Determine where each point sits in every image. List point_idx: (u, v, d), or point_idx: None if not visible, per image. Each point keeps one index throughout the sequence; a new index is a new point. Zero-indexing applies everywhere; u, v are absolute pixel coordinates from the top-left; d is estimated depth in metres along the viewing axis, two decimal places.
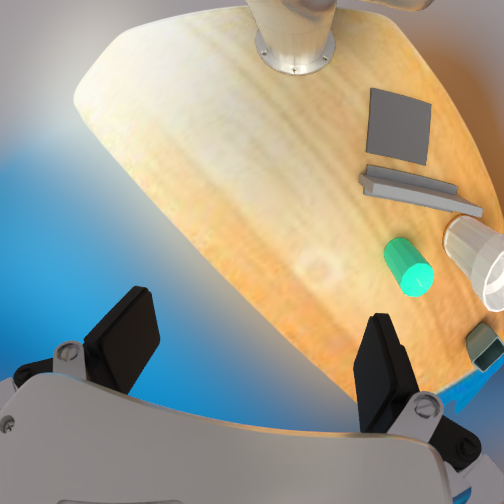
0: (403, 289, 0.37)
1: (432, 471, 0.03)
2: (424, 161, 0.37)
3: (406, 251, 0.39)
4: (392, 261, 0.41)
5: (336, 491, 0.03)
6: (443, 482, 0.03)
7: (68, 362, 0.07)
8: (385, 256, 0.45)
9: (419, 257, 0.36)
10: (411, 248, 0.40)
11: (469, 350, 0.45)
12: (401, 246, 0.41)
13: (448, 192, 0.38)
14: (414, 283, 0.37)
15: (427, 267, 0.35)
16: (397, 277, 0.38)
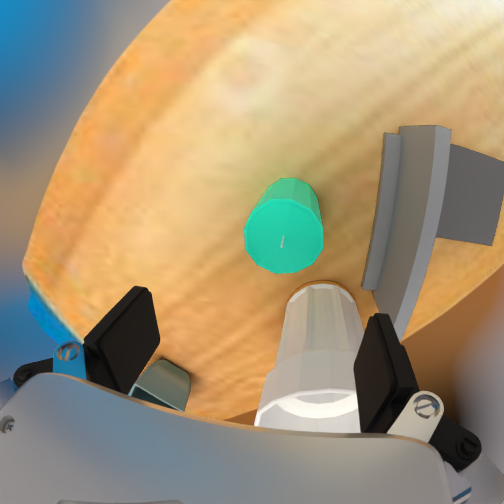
0: (259, 210, 0.20)
1: (432, 471, 0.03)
2: None
3: (318, 208, 0.23)
4: (291, 185, 0.24)
5: (336, 491, 0.03)
6: (443, 482, 0.03)
7: (68, 362, 0.07)
8: (285, 179, 0.28)
9: None
10: None
11: (148, 371, 0.38)
12: (316, 202, 0.25)
13: None
14: (273, 232, 0.20)
15: (311, 253, 0.20)
16: (276, 194, 0.21)
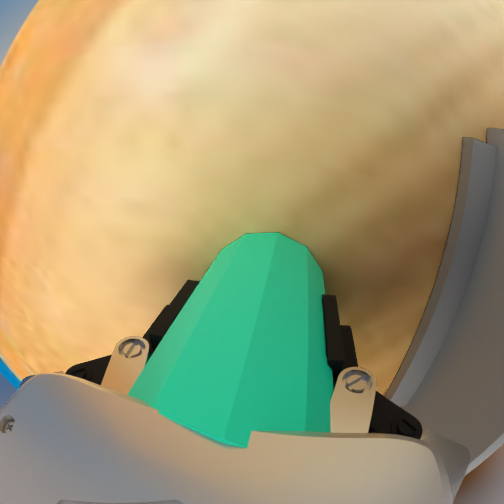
0: None
1: (432, 471, 0.03)
2: None
3: None
4: (257, 282, 0.09)
5: (336, 491, 0.03)
6: (443, 482, 0.03)
7: (128, 359, 0.07)
8: (252, 240, 0.13)
9: None
10: None
11: None
12: None
13: None
14: None
15: None
16: (191, 360, 0.06)
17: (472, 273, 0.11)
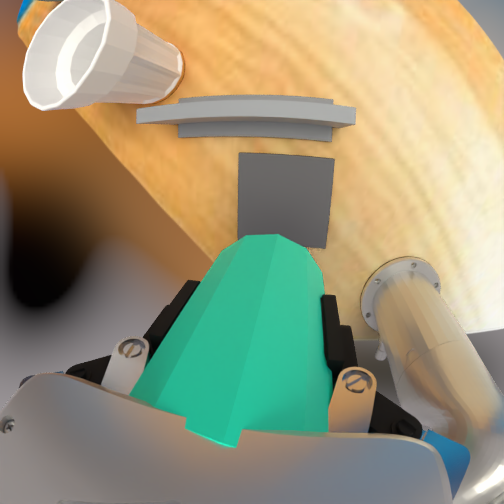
0: None
1: (432, 471, 0.03)
2: (241, 158, 0.31)
3: None
4: (257, 285, 0.09)
5: (336, 491, 0.03)
6: (443, 482, 0.03)
7: (128, 359, 0.07)
8: (252, 242, 0.13)
9: None
10: None
11: None
12: None
13: (192, 124, 0.30)
14: None
15: None
16: (191, 363, 0.06)
17: None
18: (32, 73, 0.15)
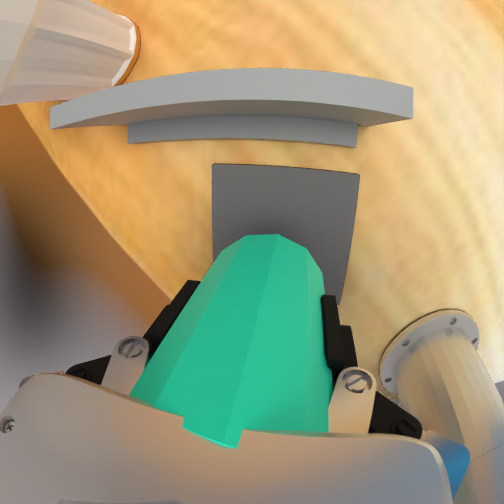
0: None
1: (432, 471, 0.03)
2: (216, 173, 0.20)
3: None
4: (257, 285, 0.09)
5: (336, 491, 0.03)
6: (443, 482, 0.03)
7: (128, 359, 0.07)
8: (252, 242, 0.13)
9: None
10: None
11: None
12: None
13: (146, 123, 0.19)
14: None
15: None
16: (191, 363, 0.06)
17: None
18: None
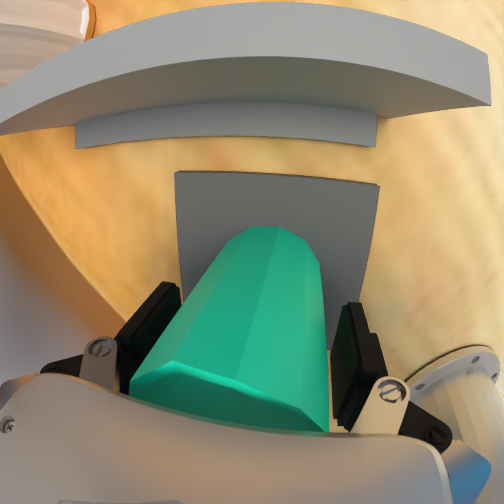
0: (149, 380, 0.06)
1: (432, 471, 0.03)
2: (180, 184, 0.15)
3: (322, 324, 0.10)
4: (261, 265, 0.10)
5: (336, 491, 0.03)
6: (443, 482, 0.03)
7: (99, 358, 0.07)
8: (256, 232, 0.14)
9: None
10: None
11: None
12: (319, 294, 0.11)
13: (94, 122, 0.14)
14: None
15: None
16: (206, 322, 0.07)
17: None
18: None
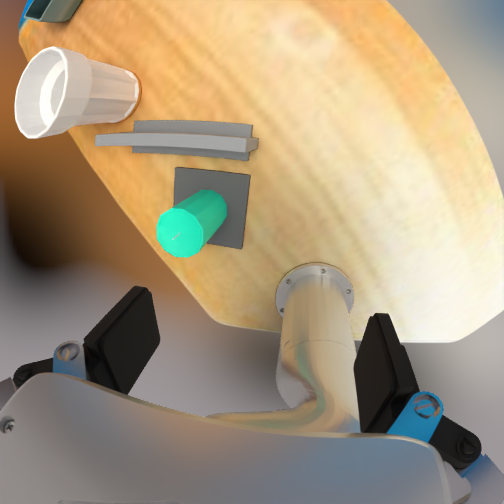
0: (165, 214, 0.30)
1: (432, 471, 0.03)
2: (177, 172, 0.38)
3: (213, 214, 0.33)
4: (198, 197, 0.34)
5: (336, 491, 0.03)
6: (443, 482, 0.03)
7: (68, 362, 0.07)
8: (202, 191, 0.37)
9: (209, 233, 0.32)
10: (217, 223, 0.35)
11: None
12: (218, 210, 0.35)
13: None
14: (174, 229, 0.30)
15: (197, 245, 0.31)
16: (180, 204, 0.31)
17: (201, 133, 0.35)
18: (21, 105, 0.21)
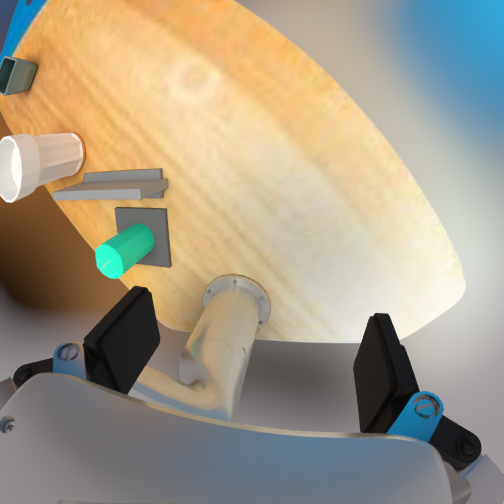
0: (98, 249, 0.38)
1: (432, 471, 0.03)
2: (116, 211, 0.47)
3: (135, 244, 0.42)
4: (125, 232, 0.43)
5: (336, 491, 0.03)
6: (443, 482, 0.03)
7: (68, 362, 0.07)
8: (133, 225, 0.46)
9: (130, 259, 0.40)
10: (140, 250, 0.43)
11: (26, 63, 0.32)
12: (141, 240, 0.44)
13: None
14: (106, 258, 0.39)
15: (121, 269, 0.39)
16: (109, 240, 0.39)
17: (127, 180, 0.44)
18: None
